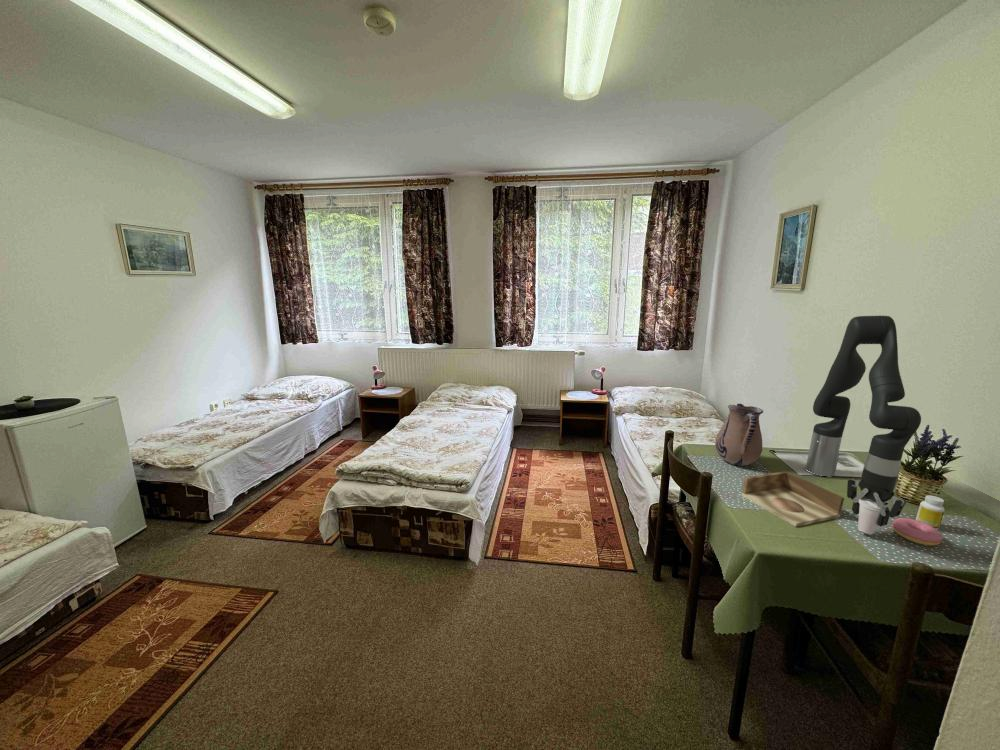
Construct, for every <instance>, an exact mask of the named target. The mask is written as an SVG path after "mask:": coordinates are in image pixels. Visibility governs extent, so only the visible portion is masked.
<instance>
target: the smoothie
mask: <svg viewBox="0 0 1000 750" xmlns="http://www.w3.org/2000/svg"><path fill="white" fill-rule="evenodd" d="M859 503H860V507H859V514H858V520H857V521H858V523H857V529H858V530H859V531H860V532H861V533H863V534H866V535H874V534H875V532H876V530H877V528H878V527H879V526H878V525H877V524H878V520H879V516H880V514H881V508H878V506H877V503H876V502H874V501H872V500H870V499H867V498H864V499H859ZM886 509H887V508H885V510H886Z"/></svg>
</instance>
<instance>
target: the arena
mask: <svg viewBox="0 0 1000 750" xmlns="http://www.w3.org/2000/svg"><path fill="white" fill-rule="evenodd" d="M741 496H742V497H744V498H745V499H746V500H748V501H751V502H752V503H754V504H756V505H757V506H759V507H761V508H762V509H764V510H766V511H767V512H769V513H770V514H772V515H775V516H776V517H778V518H780V520H782V521H785V522H786V523H789V524H790V525H791V526H793V527H794V528H796V527H802V526H806V525H811V524H815V523H820V522H825V521H828V520H834V519H838V518H840V517H841V515H842V514H841V512H842V509H843V505H844V504H843V503H844V500H845V497H843V496H841V495H839V494H836V493H834V492H832V491H830V490H827V489H825V488H824V487H821V486H819V485H817V484H814V483H812V482H811V481H808V480H806V479H804V478H802V477H800V476H797V475H795V474H793V473H790V472H789V471H786V470H784V471H779V472H777V471H776V472H772V473H765V474H758V475H753V476H746V477H744V479H743V485H742V492H741Z"/></svg>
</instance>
